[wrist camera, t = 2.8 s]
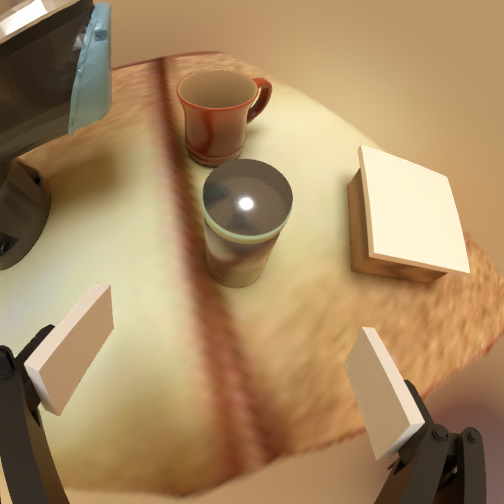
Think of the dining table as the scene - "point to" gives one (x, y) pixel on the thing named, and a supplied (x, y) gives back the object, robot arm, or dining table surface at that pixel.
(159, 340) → the dining table surface
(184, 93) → the mug
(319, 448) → the dining table surface
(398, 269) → the pedestal
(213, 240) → the grey can
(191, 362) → the dining table surface
